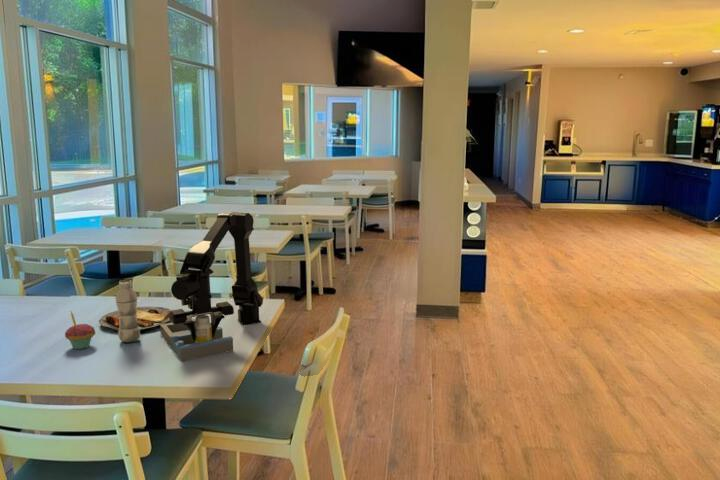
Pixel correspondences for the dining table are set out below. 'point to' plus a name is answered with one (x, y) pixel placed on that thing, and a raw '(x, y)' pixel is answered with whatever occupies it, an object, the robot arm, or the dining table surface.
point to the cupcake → (79, 334)
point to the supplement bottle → (203, 329)
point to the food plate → (139, 317)
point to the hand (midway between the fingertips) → (203, 338)
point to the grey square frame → (187, 347)
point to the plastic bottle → (127, 312)
